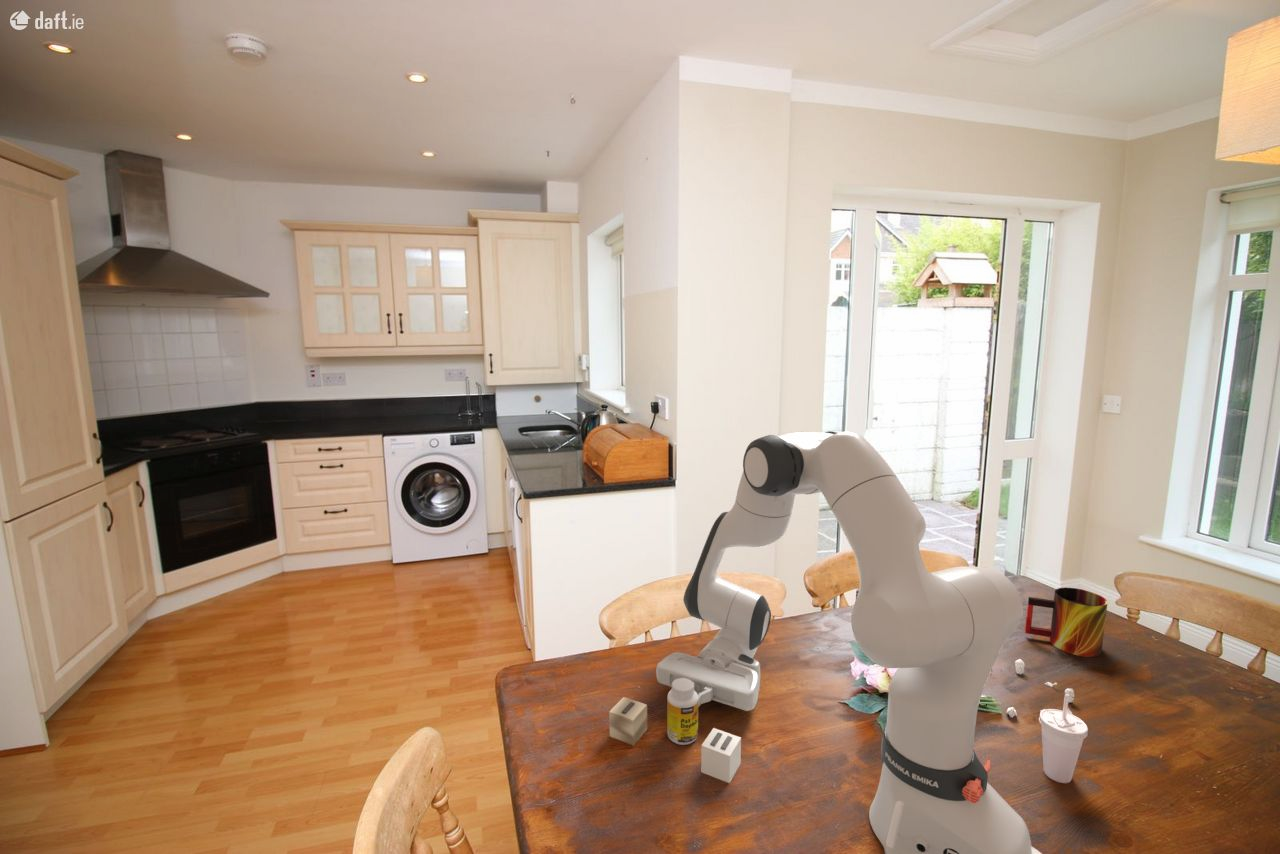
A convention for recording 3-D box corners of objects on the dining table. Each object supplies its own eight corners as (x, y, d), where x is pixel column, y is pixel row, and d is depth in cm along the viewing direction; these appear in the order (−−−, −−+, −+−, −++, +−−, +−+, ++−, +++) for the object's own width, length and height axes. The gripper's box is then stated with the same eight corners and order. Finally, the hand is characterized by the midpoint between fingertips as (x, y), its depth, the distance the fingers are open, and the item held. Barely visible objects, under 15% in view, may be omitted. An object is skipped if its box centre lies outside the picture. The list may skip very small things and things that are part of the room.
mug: (1022, 636, 139) (1027, 588, 138) (1079, 634, 140) (1084, 587, 138) (1052, 658, 130) (1057, 607, 128) (1112, 656, 130) (1119, 605, 128)
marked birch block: (647, 729, 108) (646, 703, 107) (633, 746, 104) (633, 719, 103) (624, 721, 110) (623, 695, 110) (609, 736, 106) (609, 710, 105)
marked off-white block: (740, 764, 99) (741, 736, 98) (729, 783, 95) (729, 754, 94) (713, 753, 102) (713, 726, 101) (701, 772, 97) (701, 744, 96)
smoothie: (1085, 774, 96) (1094, 696, 94) (1077, 796, 91) (1087, 714, 89) (1039, 754, 100) (1047, 679, 98) (1029, 774, 96) (1037, 696, 94)
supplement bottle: (679, 751, 102) (679, 697, 101) (661, 733, 107) (660, 681, 105) (704, 738, 105) (704, 686, 104) (685, 722, 110) (685, 671, 108)
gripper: (673, 638, 124) (641, 670, 112) (767, 664, 114) (742, 702, 102) (673, 666, 125) (641, 700, 113) (766, 693, 115) (742, 735, 103)
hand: (690, 702), depth 108 cm, fingers closed
